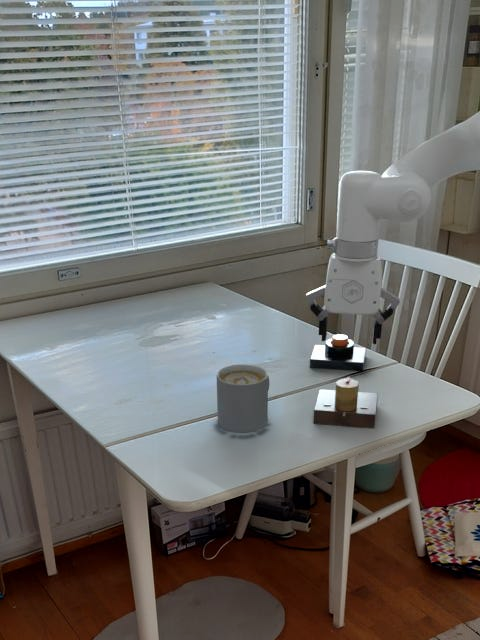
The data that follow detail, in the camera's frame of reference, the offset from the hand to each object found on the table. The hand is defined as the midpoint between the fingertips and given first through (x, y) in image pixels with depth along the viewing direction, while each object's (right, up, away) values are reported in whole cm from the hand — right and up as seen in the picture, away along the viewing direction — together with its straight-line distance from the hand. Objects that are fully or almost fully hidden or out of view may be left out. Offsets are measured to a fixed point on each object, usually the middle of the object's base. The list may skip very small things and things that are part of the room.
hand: (349, 340), depth 149 cm
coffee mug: (-19, -14, +8) cm, 25 cm away
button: (+2, +7, +31) cm, 32 cm away
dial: (0, -12, +5) cm, 13 cm away
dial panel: (+1, -13, +9) cm, 16 cm away
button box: (+2, +3, +32) cm, 32 cm away
